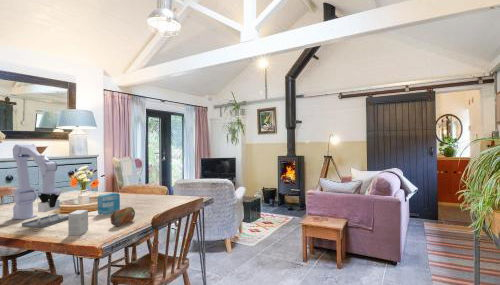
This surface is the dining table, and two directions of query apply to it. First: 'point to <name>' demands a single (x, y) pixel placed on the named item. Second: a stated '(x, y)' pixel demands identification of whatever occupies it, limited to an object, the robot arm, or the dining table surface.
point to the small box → (77, 222)
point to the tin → (122, 216)
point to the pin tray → (45, 221)
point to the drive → (47, 206)
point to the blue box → (108, 203)
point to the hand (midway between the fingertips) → (49, 207)
